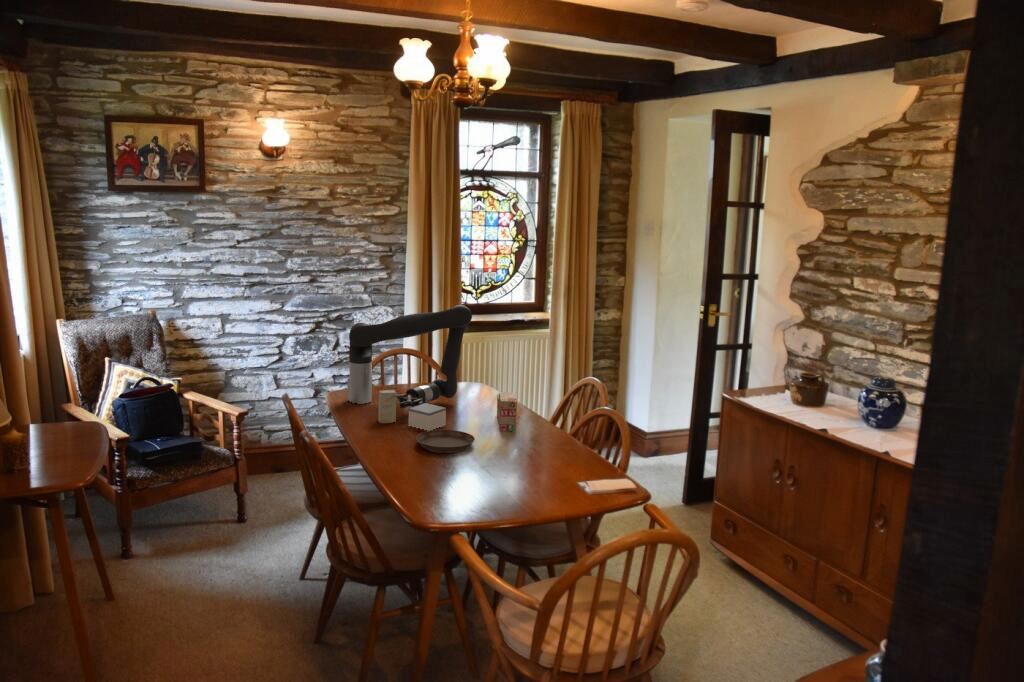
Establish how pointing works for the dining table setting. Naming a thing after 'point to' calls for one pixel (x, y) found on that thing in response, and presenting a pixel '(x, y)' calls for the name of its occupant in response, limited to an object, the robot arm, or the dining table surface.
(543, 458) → the dining table surface
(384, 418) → the skincare box
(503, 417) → the printed cardboard box
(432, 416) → the block
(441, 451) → the plant saucer
